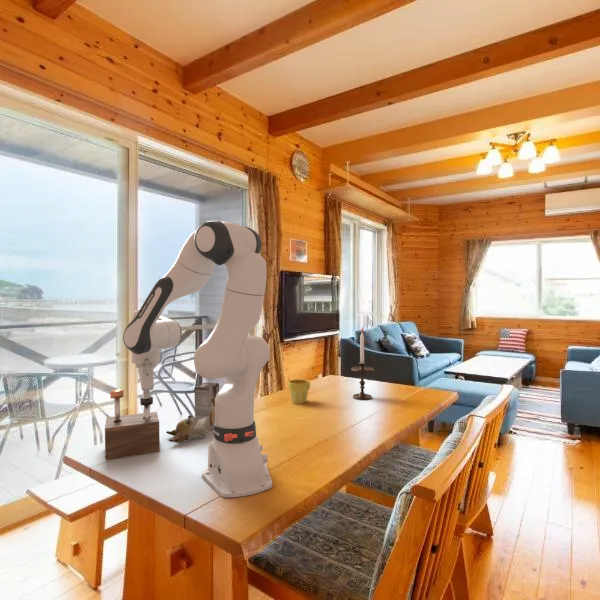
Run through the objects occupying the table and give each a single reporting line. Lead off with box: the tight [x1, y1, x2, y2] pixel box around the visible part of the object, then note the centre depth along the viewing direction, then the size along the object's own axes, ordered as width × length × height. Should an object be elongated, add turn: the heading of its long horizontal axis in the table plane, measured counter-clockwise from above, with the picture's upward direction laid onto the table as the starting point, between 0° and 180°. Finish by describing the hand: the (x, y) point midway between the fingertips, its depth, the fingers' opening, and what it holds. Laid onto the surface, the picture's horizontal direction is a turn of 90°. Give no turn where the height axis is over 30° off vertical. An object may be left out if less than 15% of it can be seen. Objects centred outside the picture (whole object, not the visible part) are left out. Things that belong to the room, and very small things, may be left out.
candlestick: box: [350, 326, 375, 401], centre depth 197 cm, size 11×11×35 cm
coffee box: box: [193, 382, 220, 431], centre depth 157 cm, size 9×6×16 cm
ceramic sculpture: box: [165, 415, 210, 443], centre depth 144 cm, size 11×9×15 cm
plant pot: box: [287, 378, 311, 405], centre depth 191 cm, size 10×10×10 cm
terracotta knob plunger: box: [109, 388, 125, 423], centre depth 132 cm, size 4×4×13 cm
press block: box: [104, 411, 161, 461], centre depth 134 cm, size 12×16×10 cm
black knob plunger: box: [139, 395, 154, 419], centre depth 136 cm, size 4×4×13 cm
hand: (146, 397), depth 136 cm, fingers closed, pressing on black knob plunger
